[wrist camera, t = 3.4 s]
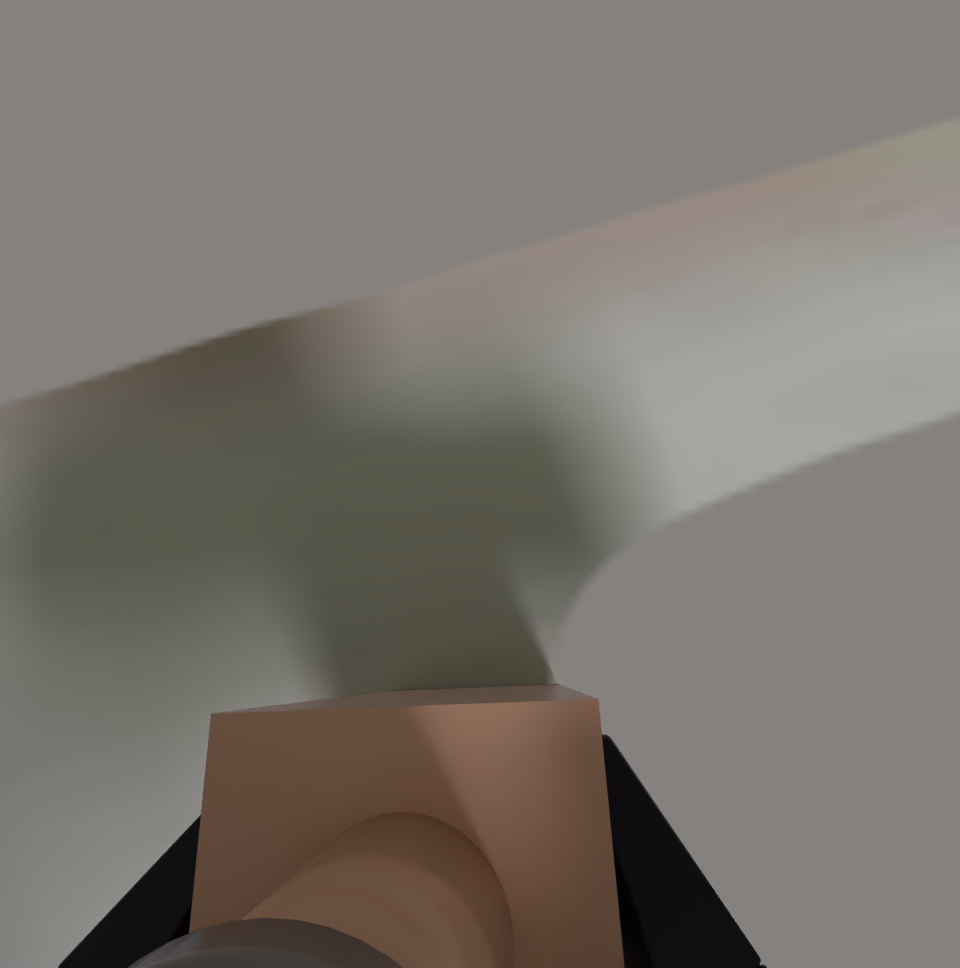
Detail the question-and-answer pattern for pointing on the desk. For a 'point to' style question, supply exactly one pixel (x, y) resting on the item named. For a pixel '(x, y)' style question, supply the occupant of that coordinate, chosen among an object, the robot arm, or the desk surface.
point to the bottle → (405, 835)
